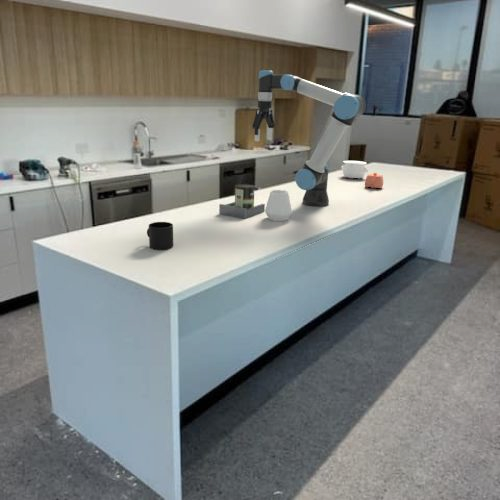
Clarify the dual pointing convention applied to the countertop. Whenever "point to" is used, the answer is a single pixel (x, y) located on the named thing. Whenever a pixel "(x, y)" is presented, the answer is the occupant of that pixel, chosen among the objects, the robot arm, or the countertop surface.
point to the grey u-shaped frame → (240, 210)
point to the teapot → (374, 181)
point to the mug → (160, 235)
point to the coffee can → (244, 195)
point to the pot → (354, 169)
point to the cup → (278, 206)
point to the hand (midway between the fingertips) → (263, 140)
